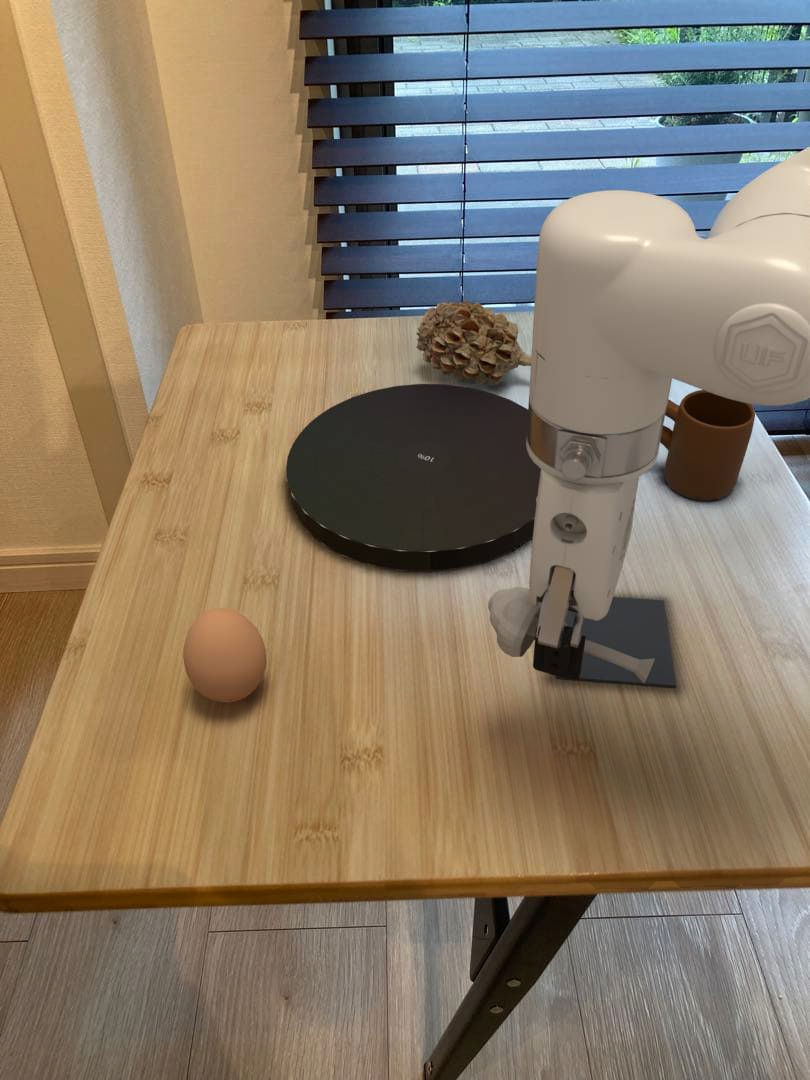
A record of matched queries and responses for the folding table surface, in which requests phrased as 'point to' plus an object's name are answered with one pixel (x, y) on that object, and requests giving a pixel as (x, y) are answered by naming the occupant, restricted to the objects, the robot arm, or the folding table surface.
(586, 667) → the coaster
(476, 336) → the pine cone
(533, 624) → the mushroom
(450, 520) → the disc
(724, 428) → the mug
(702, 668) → the folding table surface
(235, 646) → the egg
